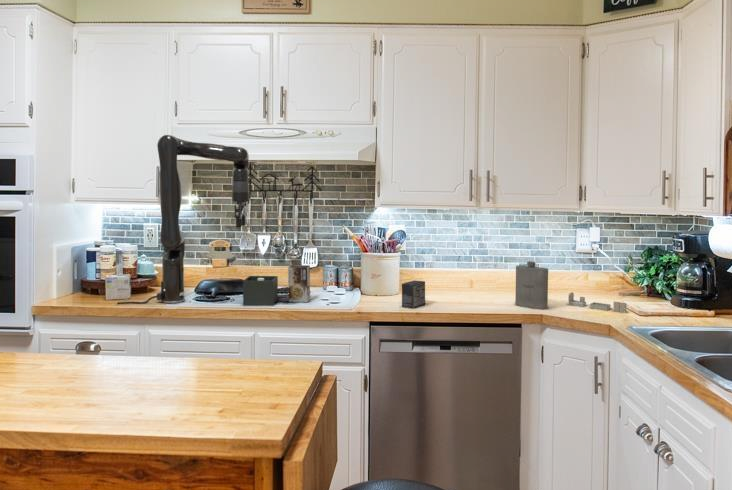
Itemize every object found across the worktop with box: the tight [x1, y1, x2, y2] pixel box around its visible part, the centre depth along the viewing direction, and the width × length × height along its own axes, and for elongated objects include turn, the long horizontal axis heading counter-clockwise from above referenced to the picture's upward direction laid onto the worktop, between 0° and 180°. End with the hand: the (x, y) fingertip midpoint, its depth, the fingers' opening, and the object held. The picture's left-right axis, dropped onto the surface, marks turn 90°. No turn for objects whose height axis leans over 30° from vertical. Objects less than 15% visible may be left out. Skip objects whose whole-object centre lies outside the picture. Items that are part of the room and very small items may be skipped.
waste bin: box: [242, 275, 279, 307], centre depth 278 cm, size 13×13×11 cm
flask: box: [514, 260, 549, 310], centre depth 272 cm, size 15×6×20 cm, turn 48°
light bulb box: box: [104, 273, 132, 301], centre depth 286 cm, size 11×7×11 cm, turn 108°
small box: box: [401, 280, 426, 309], centre depth 273 cm, size 11×6×10 cm, turn 145°
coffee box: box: [287, 264, 311, 303], centre depth 282 cm, size 9×6×16 cm
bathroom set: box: [567, 291, 627, 314], centre depth 270 cm, size 25×5×5 cm, turn 50°
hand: (240, 226), depth 281 cm, fingers open, 8 cm apart
